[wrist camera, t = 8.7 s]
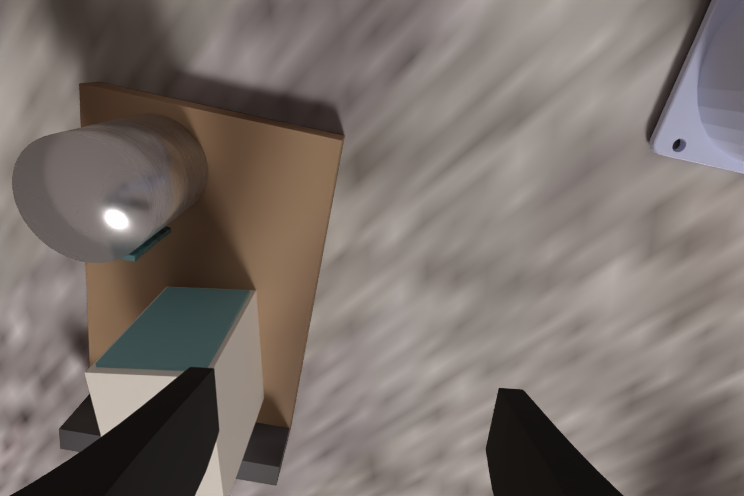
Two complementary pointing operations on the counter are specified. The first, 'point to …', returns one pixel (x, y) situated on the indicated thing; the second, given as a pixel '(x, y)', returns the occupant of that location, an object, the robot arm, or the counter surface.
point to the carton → (179, 352)
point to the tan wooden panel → (226, 249)
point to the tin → (109, 186)
